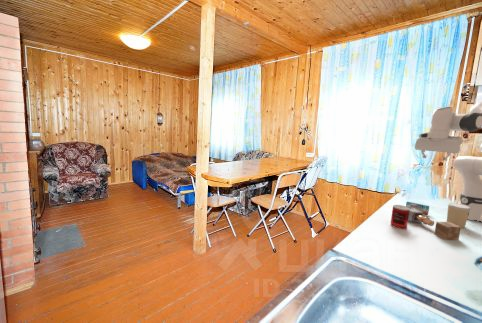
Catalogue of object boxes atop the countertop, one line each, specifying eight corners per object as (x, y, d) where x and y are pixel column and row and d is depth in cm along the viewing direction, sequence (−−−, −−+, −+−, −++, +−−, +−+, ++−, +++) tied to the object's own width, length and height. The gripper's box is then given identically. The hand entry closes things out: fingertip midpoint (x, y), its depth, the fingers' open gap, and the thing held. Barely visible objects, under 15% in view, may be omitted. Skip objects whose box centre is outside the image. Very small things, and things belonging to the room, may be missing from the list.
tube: (410, 215, 141) (411, 209, 140) (434, 226, 125) (435, 219, 124) (404, 215, 140) (405, 209, 140) (427, 226, 124) (429, 219, 124)
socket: (446, 234, 120) (448, 221, 119) (458, 239, 114) (461, 226, 113) (434, 234, 119) (436, 221, 118) (445, 239, 113) (448, 226, 112)
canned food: (401, 223, 132) (404, 205, 130) (410, 229, 124) (413, 210, 122) (387, 222, 132) (390, 204, 131) (395, 228, 125) (398, 209, 123)
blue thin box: (405, 210, 155) (406, 201, 154) (405, 209, 156) (406, 201, 155) (427, 215, 146) (429, 206, 146) (427, 215, 147) (429, 206, 147)
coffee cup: (471, 229, 127) (475, 209, 125) (451, 227, 129) (455, 207, 127) (458, 223, 136) (462, 203, 134) (440, 221, 138) (444, 202, 136)
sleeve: (413, 218, 140) (414, 208, 139) (421, 222, 134) (423, 212, 133) (403, 218, 139) (404, 208, 138) (411, 222, 133) (413, 212, 132)
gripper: (464, 136, 125) (459, 161, 127) (419, 134, 141) (415, 156, 143) (462, 136, 121) (456, 162, 123) (415, 134, 137) (411, 157, 139)
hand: (434, 159), depth 133 cm, fingers open, 8 cm apart
